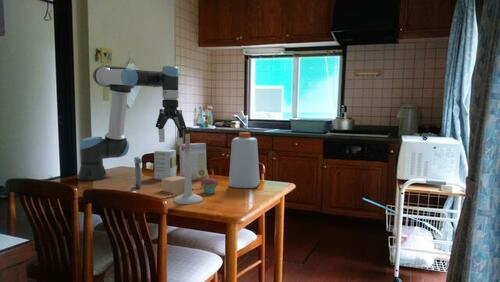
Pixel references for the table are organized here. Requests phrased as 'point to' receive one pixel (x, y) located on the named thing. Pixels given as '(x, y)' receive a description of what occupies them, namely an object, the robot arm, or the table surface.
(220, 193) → the table surface
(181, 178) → the tan rectangular block
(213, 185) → the cupcake
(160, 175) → the supplement box
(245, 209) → the table surface
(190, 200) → the candlestick
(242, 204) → the table surface
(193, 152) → the cracker box
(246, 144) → the plastic bottle
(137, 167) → the t key
